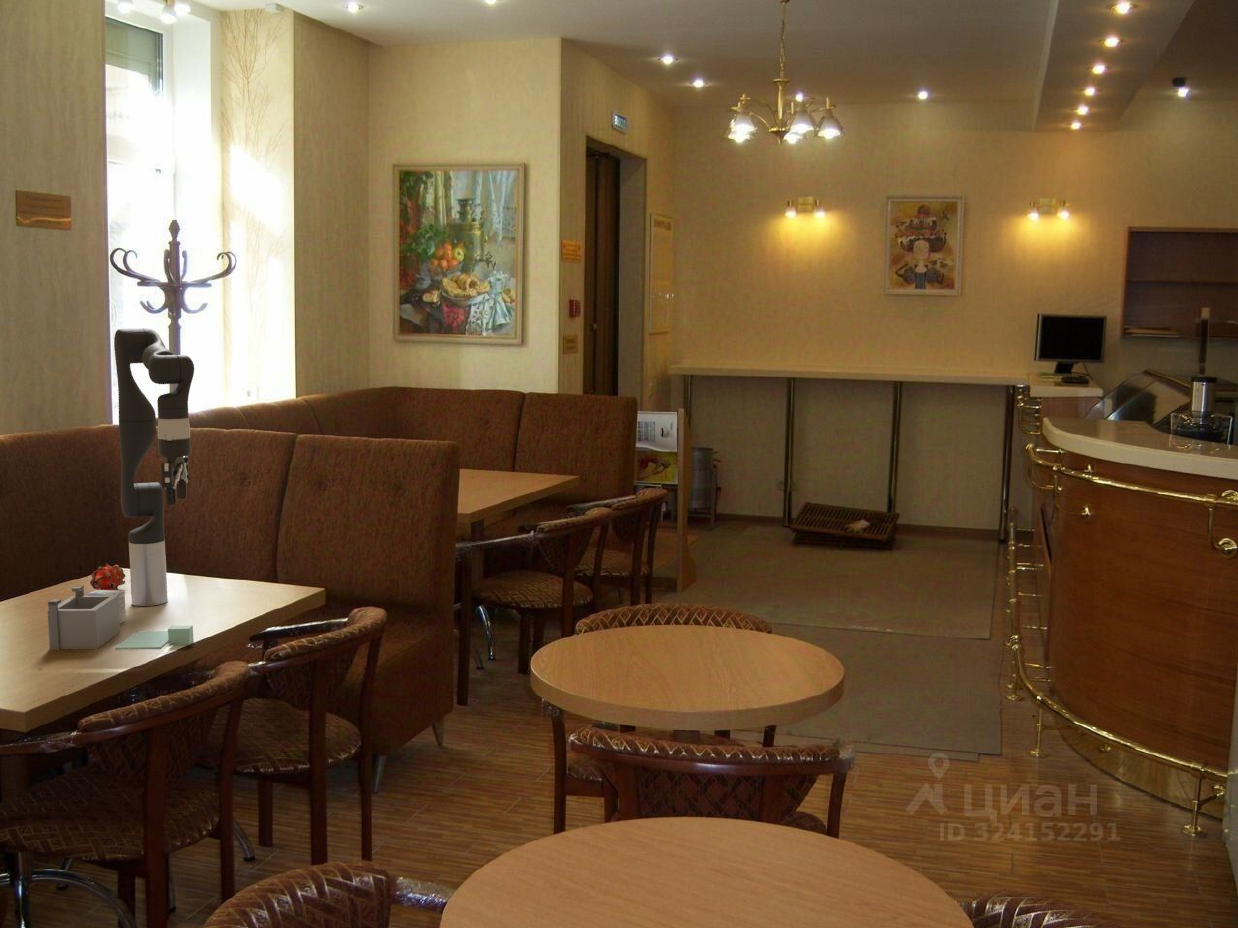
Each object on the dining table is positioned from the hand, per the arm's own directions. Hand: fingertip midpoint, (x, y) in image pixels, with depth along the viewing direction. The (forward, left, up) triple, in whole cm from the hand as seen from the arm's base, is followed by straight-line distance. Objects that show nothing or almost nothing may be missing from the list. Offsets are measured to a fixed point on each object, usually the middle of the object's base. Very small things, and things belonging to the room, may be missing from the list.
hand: (177, 501), depth 298 cm
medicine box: (-7, -21, -33) cm, 40 cm away
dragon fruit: (-43, -34, -33) cm, 64 cm away
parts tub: (+10, -20, -33) cm, 40 cm away
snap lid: (+11, -2, -33) cm, 35 cm away
